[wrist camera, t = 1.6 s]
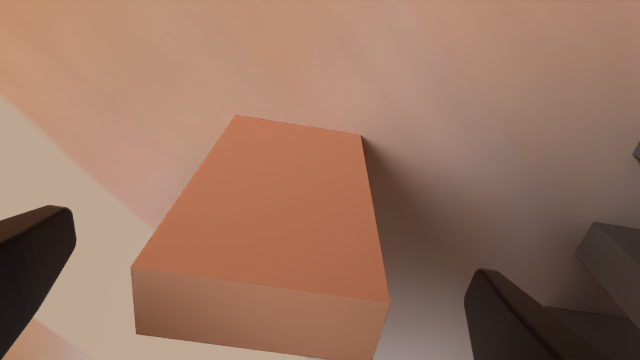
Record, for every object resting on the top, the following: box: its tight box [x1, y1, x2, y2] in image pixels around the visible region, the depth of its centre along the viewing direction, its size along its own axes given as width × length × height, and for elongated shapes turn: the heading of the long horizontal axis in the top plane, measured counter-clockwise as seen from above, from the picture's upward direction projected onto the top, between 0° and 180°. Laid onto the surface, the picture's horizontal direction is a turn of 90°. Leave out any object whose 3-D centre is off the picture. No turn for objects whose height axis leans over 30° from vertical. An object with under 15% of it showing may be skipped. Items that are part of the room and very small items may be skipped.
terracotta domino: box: [131, 115, 391, 360], centre depth 11 cm, size 2×4×8 cm, turn 81°
